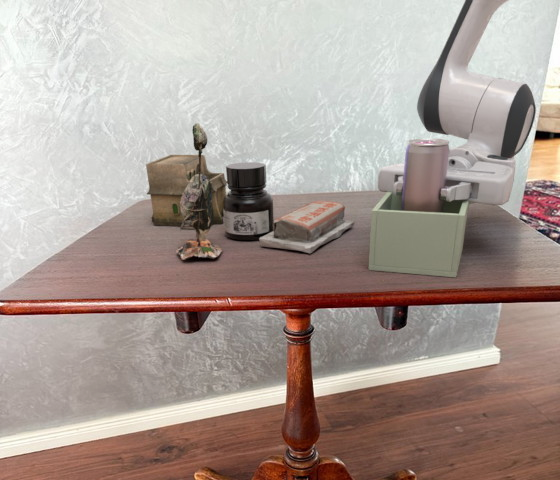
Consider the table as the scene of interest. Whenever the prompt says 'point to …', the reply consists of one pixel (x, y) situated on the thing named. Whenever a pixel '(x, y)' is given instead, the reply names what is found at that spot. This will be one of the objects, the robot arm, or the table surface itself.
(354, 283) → the table surface
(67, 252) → the table surface
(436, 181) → the beverage can
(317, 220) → the packaged product
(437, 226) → the waste bin
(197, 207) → the plant with pod
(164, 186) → the miniature house
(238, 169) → the ink bottle
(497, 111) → the robot arm
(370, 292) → the table surface
